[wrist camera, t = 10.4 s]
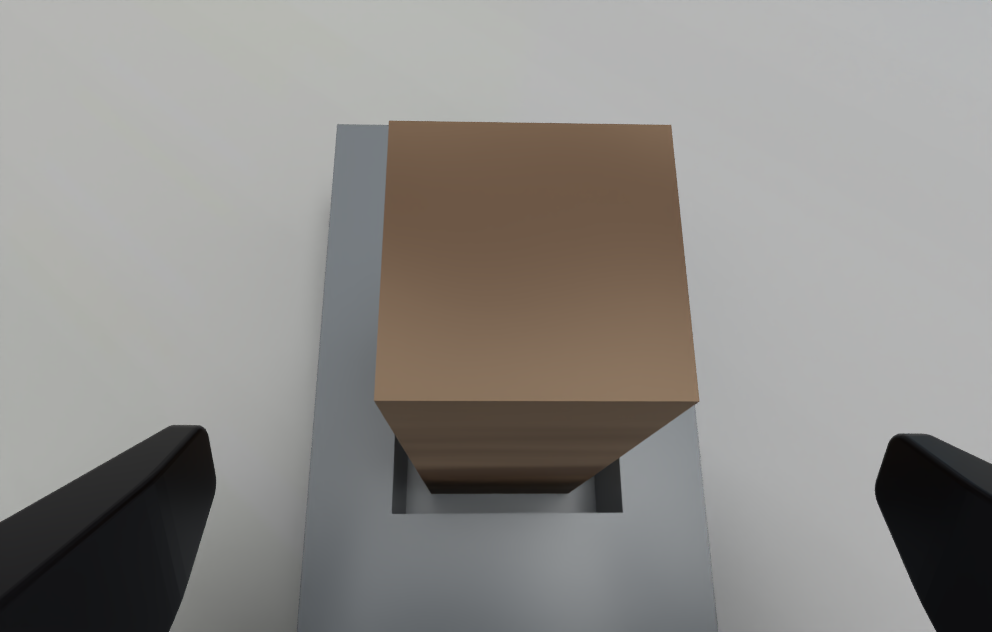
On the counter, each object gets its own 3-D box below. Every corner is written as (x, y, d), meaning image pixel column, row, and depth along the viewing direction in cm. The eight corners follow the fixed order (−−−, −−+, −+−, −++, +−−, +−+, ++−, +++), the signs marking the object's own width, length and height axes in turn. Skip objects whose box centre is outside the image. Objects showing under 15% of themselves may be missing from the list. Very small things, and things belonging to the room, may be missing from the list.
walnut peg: (568, 493, 20) (699, 401, 9) (431, 493, 20) (373, 400, 9) (563, 361, 22) (670, 124, 10) (434, 360, 22) (388, 120, 10)
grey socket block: (674, 720, 19) (731, 765, 15) (327, 725, 19) (285, 772, 15) (633, 203, 25) (666, 128, 20) (360, 200, 24) (337, 124, 20)
